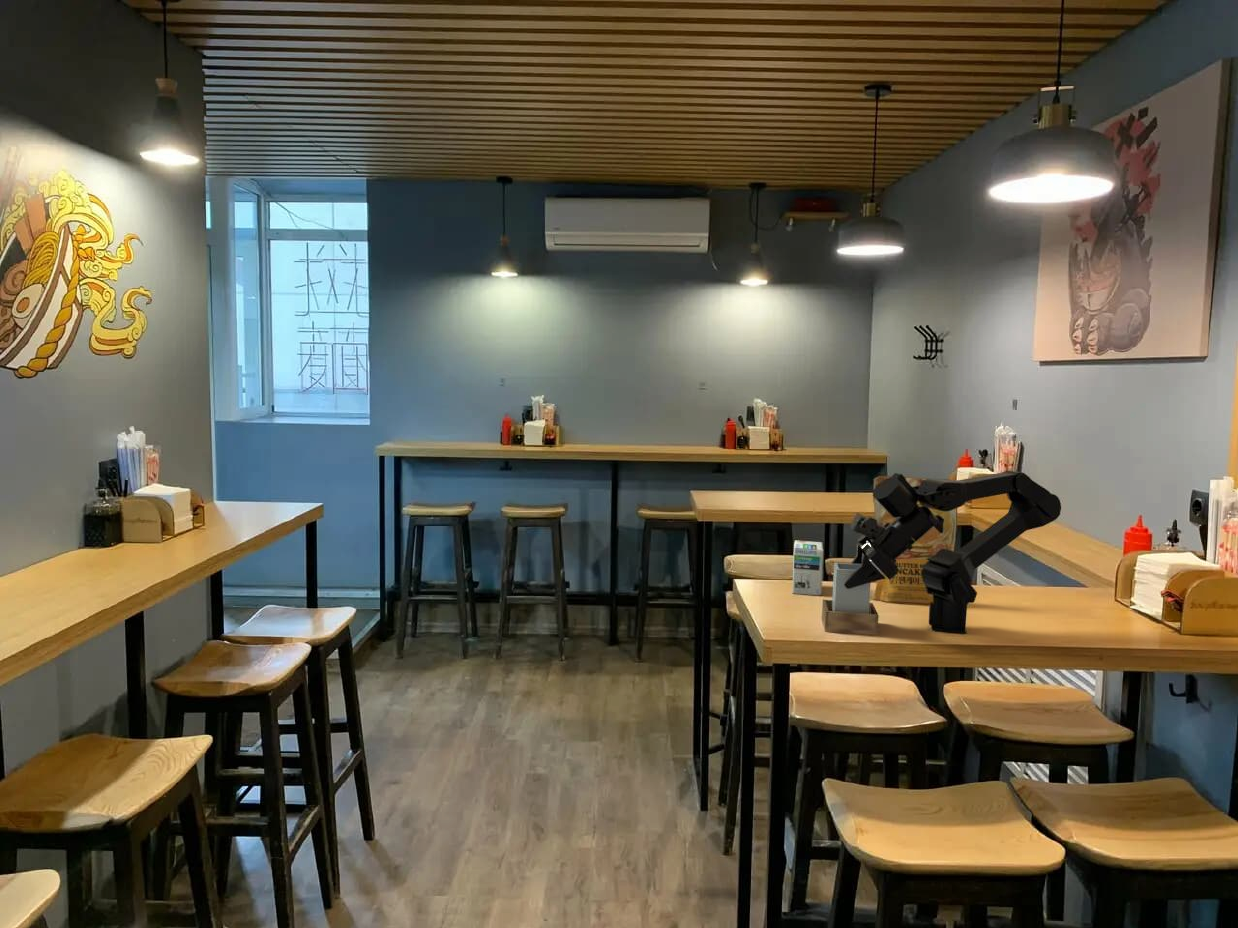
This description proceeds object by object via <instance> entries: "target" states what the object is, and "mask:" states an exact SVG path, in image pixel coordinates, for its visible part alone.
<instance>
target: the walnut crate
mask: <svg viewBox="0 0 1238 928" xmlns="http://www.w3.org/2000/svg"><path fill="white" fill-rule="evenodd" d="M821 621H822V625H823V630H824V633H825V632H826V633H837V634H838V633H840V634H851V635H853V634H854V635H867V636H876V637H877V636H878V633H879V631H878V630H879V613H878V611H877V609H876V607H875V605H874V603H873V602H870V603H869V614H862V613H848V612H834V611H832V599H822V606H821Z"/></svg>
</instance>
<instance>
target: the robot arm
mask: <svg viewBox="0 0 1238 928" xmlns="http://www.w3.org/2000/svg"><path fill="white" fill-rule="evenodd" d="M891 476H892V477H890V478H887V479H885V480H884V481H882V482H881V483H879V484H878V485H877V486H876V487H875V489H874V491H873V490H872V497H874V498H875V499H876V500H877V501H878V502H879V503H880V505H881V506H882V507H883V508H884V509H885V510H886V511H887V512H888V513H889V514H890V515H891V516H892V517H898V518H897V519H896V521H897V522H898V523H899V524H898V523H897V522H896V521H895V520H894V521H893V522H892V523H890V522H889V523H888V522H886V523H885V524H884V525H883V526H882V525H880V524H878V523H877V520H876V519H874V518H873V517H871V516H870V515H868V516H865V515H863V514H861V513H859V512H857V513H856V514H855V515H854V518H853V519H852V521H851V523H850V524H849V528H850V529H851V530H852V531H853V532H855V533H856V534H861V536H860V537H858V538H857V543H856V555H855V557H854V558H853V559H852V561H851V563H850V564H861V565H860V566H859V567H858V569H857V570H856V571H855V572H854V573H853V574H852V576H851V577H850V578H849V579H848V580H847V582H846V583H845V584H844V585H845V587H846V588H847V589H850V588H853V587H856V586H860V585H863V584H867V583H870V582H871V583H873V582H877V581H878V580H881V579H886V578H885V576H886V577H887V578H888V579H889V580H890V579H892V578H893V577H894V576H895V575H896V574H897V570H898V567H897V565H896V564H895V563H896V562H897V561H896V560H895V559H896V558H897V557H899V556H900V555H901V554H902V553H903V552H905V551H906V550H907V549H908V550H909V551H910V550H911V549H912V548H913V547H912V545H913V544H914V543H915V541H917V540H919V539H920V538H921V537H922V536H923V535H925V534H926V533H927V532H928V531H929V530H930V529H932V528H933V527H934V528H935V529H936V530H938V531H939V532H940V533H943V523H944V519H943V518H942V517H941V516H940V515H934V514H933V513H932V512H931V511H930V510H929V508H931V509H936V510H940V511H951V510H953V509H956V508H957V509H958V508H960V507H963V506H964V505H965V504H966V503H967V502H969V501H974V500H978V499H984V498H988V497H995V496H999V495H1005V494H1006V496H1007V499H1008V500H1009V501H1010V502H1011V503H1010V504H1009V505H1010V506H1009V509H1008V512H1007V513H1006V514H1005V515H1004V516H1002V517H1001V518H999V519H998V520H997V521H995V522H994V523H993V524H991V525H990V526H989V527H987V528H986V529H985V530H983V531H982V532H981V533H979V534H978V535H977V536H975V537H974V538H973V539H971V540H970V541H969V542H967V543H966V544H964V545H963V546H962V547H960V548H959V549H958V550H956V551H955V550H954V551H950V550H947V549H941V550H939V551H938V552H937V553H936V554H935V555H934V556H932V557H930V558H927V560H929V561H928V562H927V563H926V564H925V565H924V566H923V572H922V579H923V582H924V584H925V586H926V590H927V593H928V594H932V595H933V602H930V605H929V608H928V609H929V610H928V625H929V626H931V627H930V629H931V630H932V631H938V632H947V633H958V634H967V628H966V627H967V612H968V604H973V603H974V602H975V601H976V598H977V594H978V592H977V591H976V589H975V588H974V587H973V585H972V584H971V582H972V579H973V578H974V574H975V571H976V570H977V568H979V567H980V566H982V565H983V564H984V563H986V562H987V561H988V560H989V559H991V558H992V557H993V556H995V555H996V554H997V553H998V552H1000V551H1002V550H1003V549H1004V548H1005V547H1007V546H1008V545H1010V544H1011V543H1013V541H1014V540H1016V539H1017V538H1018V537H1020V536H1021V535H1023V534H1024V533H1025V532H1027V531H1030V530H1033V529H1038V528H1042V527H1044V526H1047V525H1049V524H1050V523H1052V522H1054V521H1056V520H1057V519H1058V518H1059V517H1060V515H1061V511H1062V503H1061V500H1060V498H1059V496H1057V494H1053V493H1051V492H1050V491H1049V490H1048V489H1047V488H1045V487H1044V486H1042V485H1040V484H1039V483H1038V482H1036V481H1034V480H1032V479H1031V478H1030V476H1029V475H1027V474H1026V473H1024V472H1022V471H1021V472H1020V471H1015V470H1004V471H1002V472H997V473H992V474H987V475H981V476H975V477H970V478H964V479H959V480H957V479H949V480H945V479H946V478H933V479H926V480H923V481H922V482H921V484H920V485H918V486H914V487H912V486H911V485H910V484H909V483H908V482H907V480H906V478H905V477H904V475H903V474H902V473H897V472H896V473H894V474H892V475H891ZM918 501H919V503H920V504H921V505H922V506H923V507H919V506H918V505H917V502H918ZM912 538H913V539H914V540H915V541H914V540H913V539H912ZM860 544H861V545H860ZM884 575H885V576H884Z"/></svg>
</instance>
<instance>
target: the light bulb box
mask: <svg viewBox="0 0 1238 928" xmlns="http://www.w3.org/2000/svg"><path fill="white" fill-rule="evenodd" d="M792 557H793V558H792V564H793V565H792V591H791V592H792V594H794V595H795V594H797V595H809V596H818V595H821V596H822V590H823V574H824V573H823V569H824V568H823V566H824V548H823V542H821V541H808V540H807V541H806V540H798V539H797V540H794V543H793V556H792Z"/></svg>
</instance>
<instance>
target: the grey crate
mask: <svg viewBox="0 0 1238 928" xmlns="http://www.w3.org/2000/svg"><path fill="white" fill-rule="evenodd" d="M860 565H861V564H851V563H850V562H849V563H846V562H845V563H844V562H834V563H833V578H832V582H833V583H832V599H831V600H832V611H834V612H848V613H862V614H869V603H871V600H870V599H871V584H872V582H870V583H867V584H863V585H860V586H856V587H853V588H850V589H847V588H846V587H845V585H844V584H845V583H846V582H847V580H848V579H849V578H850V577H851V576H852V574H853V573H854V572H855V571H856V570H857V569H858V567H859V566H860Z"/></svg>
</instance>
